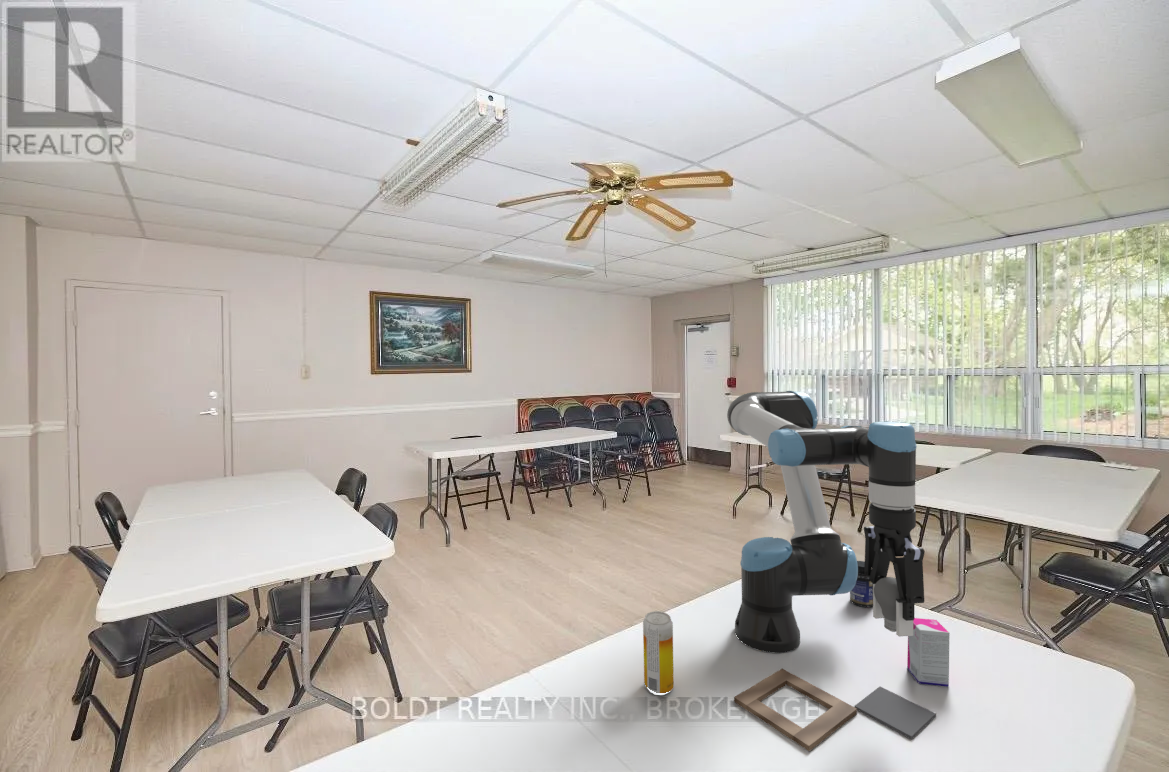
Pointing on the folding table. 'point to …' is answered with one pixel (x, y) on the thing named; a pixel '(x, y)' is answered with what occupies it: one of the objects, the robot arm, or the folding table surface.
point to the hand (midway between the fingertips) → (892, 625)
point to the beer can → (658, 652)
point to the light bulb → (887, 600)
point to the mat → (895, 712)
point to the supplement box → (929, 653)
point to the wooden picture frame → (802, 736)
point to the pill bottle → (862, 588)
